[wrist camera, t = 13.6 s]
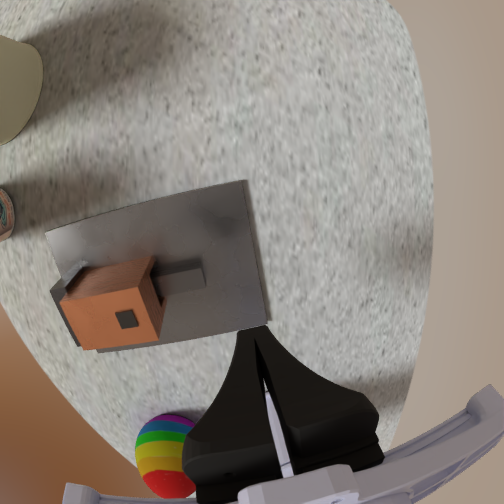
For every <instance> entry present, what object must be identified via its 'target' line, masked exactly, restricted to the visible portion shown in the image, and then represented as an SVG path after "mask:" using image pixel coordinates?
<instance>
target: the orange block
mask: <svg viewBox="0 0 504 504" xmlns="http://www.w3.org/2000/svg"><path fill="white" fill-rule="evenodd" d="M153 265H154V261H153V258H152V256H148V257H144V258H139V259H135V260H131V261H126V262H122V263H118V264H113V265H109V266H105V267H100V268H96V269H92V270H88V271H84V273H83V274H82V275H81V276H80V277H79V279H78V280H77V281H76V282H75V283H74V285H73V286H72V287H71V288H70V290H69V291H68V292H67V293H66V295H65V296H64V297H63V299H62V300H61V301H60V302H59V303H60V305H61V307H62V309H63V312H64V314H65V316H66V318H67V320H68V322H69V324H70V326H71V328H72V330H73V331H74V333H75V335H76V337H77V339H78V341H79V343H80V344H81V346H82V348H83V350H93V349H101V348H109V347H117V346H125V345H132V344H139V343H145V342H152V341H158V340H159V337H160V332H161V328H162V323H163V318H164V313H165V309H166V304H167V300H166V297H165V296H163V297H158V298H157V295H156V292H155V289H154V286H153V284H152V281H151V278H150V275H149V274H150V272H151V269H152V267H153Z"/></svg>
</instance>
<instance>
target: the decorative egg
mask: <svg viewBox="0 0 504 504" xmlns="http://www.w3.org/2000/svg"><path fill="white" fill-rule="evenodd" d="M194 426H195V424H194V423H193V422H192V421H190V420H188V419H186V418H184V417H181V416H177V415H160V416H157V417H155V418H153V419H151V420H150V421H149V422H147V423H146V424H145V425H144V426H143V428H142V429H141V431H140V432H139V435H138V437H137V441H136V446H135V457H136V463H137V467H138V470H139V472H140V474H141V476H142V478H143V480H144V482H145V483H146V484H147V486H148V487H149V488H150V489H151V490H152V491H153V492H154V493H156V494H157V495H158V496H160V497H162V498H164V499H175V498H186V497H188V496H190V495H191V494H192V493H194V492H195V491H196V485H195V484H194V483H193V482H192V481H191V480H190V479H189V478H188V477H187V476H186V474H185V473H184V472H183V470H182V450H183V444H184V440H185V436H186V434H187V433H188V432H189V431H190V430H191V429H192V428H193V427H194Z"/></svg>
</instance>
